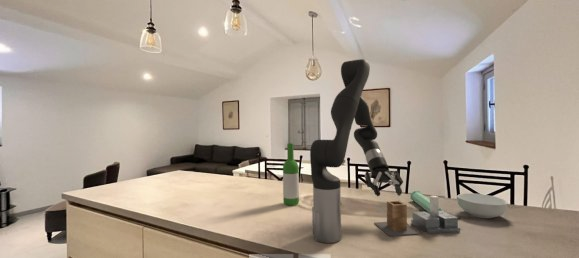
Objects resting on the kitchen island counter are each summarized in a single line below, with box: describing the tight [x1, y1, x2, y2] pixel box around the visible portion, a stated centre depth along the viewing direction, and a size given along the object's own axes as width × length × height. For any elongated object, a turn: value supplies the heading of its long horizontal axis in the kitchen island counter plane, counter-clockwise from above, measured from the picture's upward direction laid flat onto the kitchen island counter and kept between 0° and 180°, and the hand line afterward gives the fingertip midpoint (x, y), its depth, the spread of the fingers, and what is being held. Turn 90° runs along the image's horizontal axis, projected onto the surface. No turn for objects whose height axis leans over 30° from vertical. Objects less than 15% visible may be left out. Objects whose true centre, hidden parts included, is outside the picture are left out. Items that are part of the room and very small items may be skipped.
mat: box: [374, 221, 423, 237], centre depth 94 cm, size 12×12×1 cm
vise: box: [410, 195, 462, 235], centre depth 95 cm, size 16×10×12 cm, turn 96°
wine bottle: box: [282, 142, 300, 206], centre depth 127 cm, size 8×8×30 cm
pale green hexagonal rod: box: [410, 190, 444, 214], centre depth 116 cm, size 6×6×25 cm
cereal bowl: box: [456, 192, 509, 219], centre depth 107 cm, size 17×17×7 cm
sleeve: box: [386, 200, 408, 231], centre depth 94 cm, size 5×5×9 cm
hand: (389, 194), depth 99 cm, fingers open, 8 cm apart
